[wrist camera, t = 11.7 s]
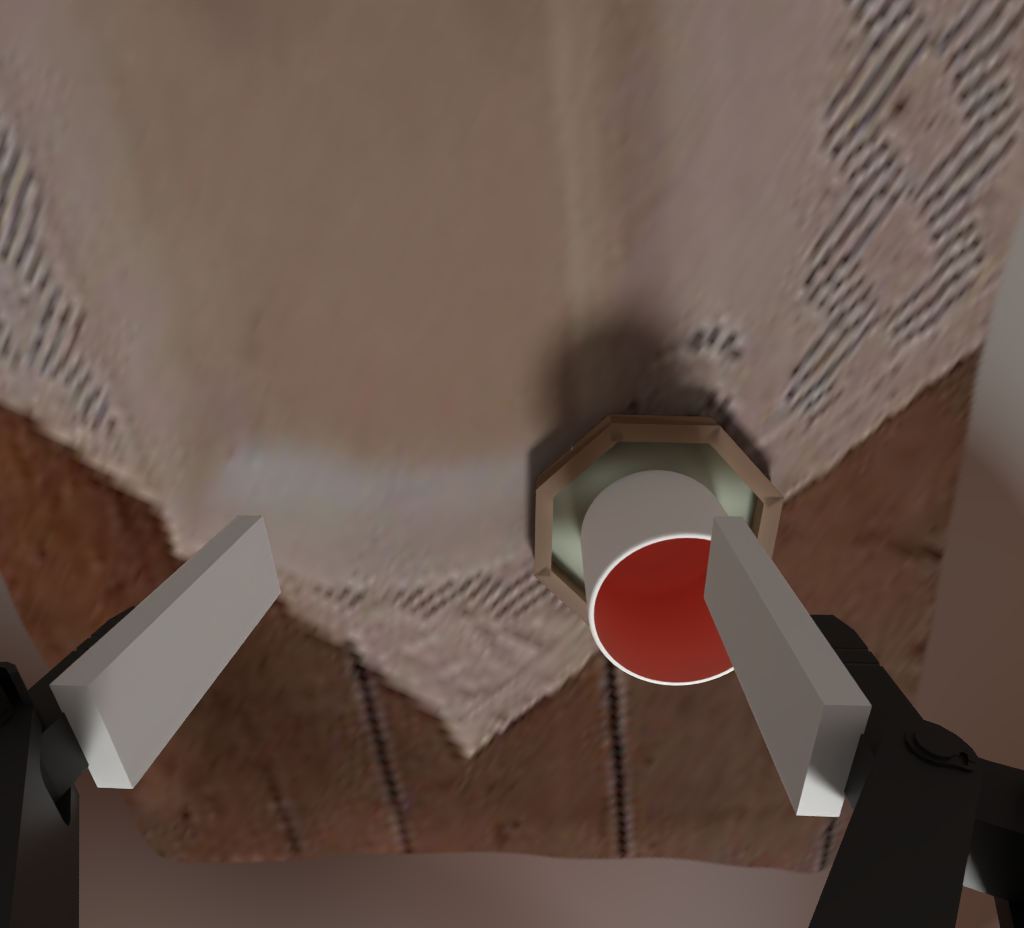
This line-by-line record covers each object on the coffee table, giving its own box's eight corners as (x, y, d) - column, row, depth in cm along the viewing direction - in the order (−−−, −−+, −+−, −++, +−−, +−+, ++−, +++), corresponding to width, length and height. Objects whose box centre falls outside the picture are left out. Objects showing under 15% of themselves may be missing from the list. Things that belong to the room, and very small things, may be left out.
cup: (621, 440, 37) (645, 502, 27) (749, 500, 38) (815, 579, 28) (555, 555, 40) (557, 645, 31) (674, 607, 41) (711, 710, 32)
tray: (538, 412, 37) (537, 421, 35) (783, 417, 36) (797, 427, 34) (533, 612, 43) (533, 630, 41) (745, 622, 42) (755, 640, 40)
